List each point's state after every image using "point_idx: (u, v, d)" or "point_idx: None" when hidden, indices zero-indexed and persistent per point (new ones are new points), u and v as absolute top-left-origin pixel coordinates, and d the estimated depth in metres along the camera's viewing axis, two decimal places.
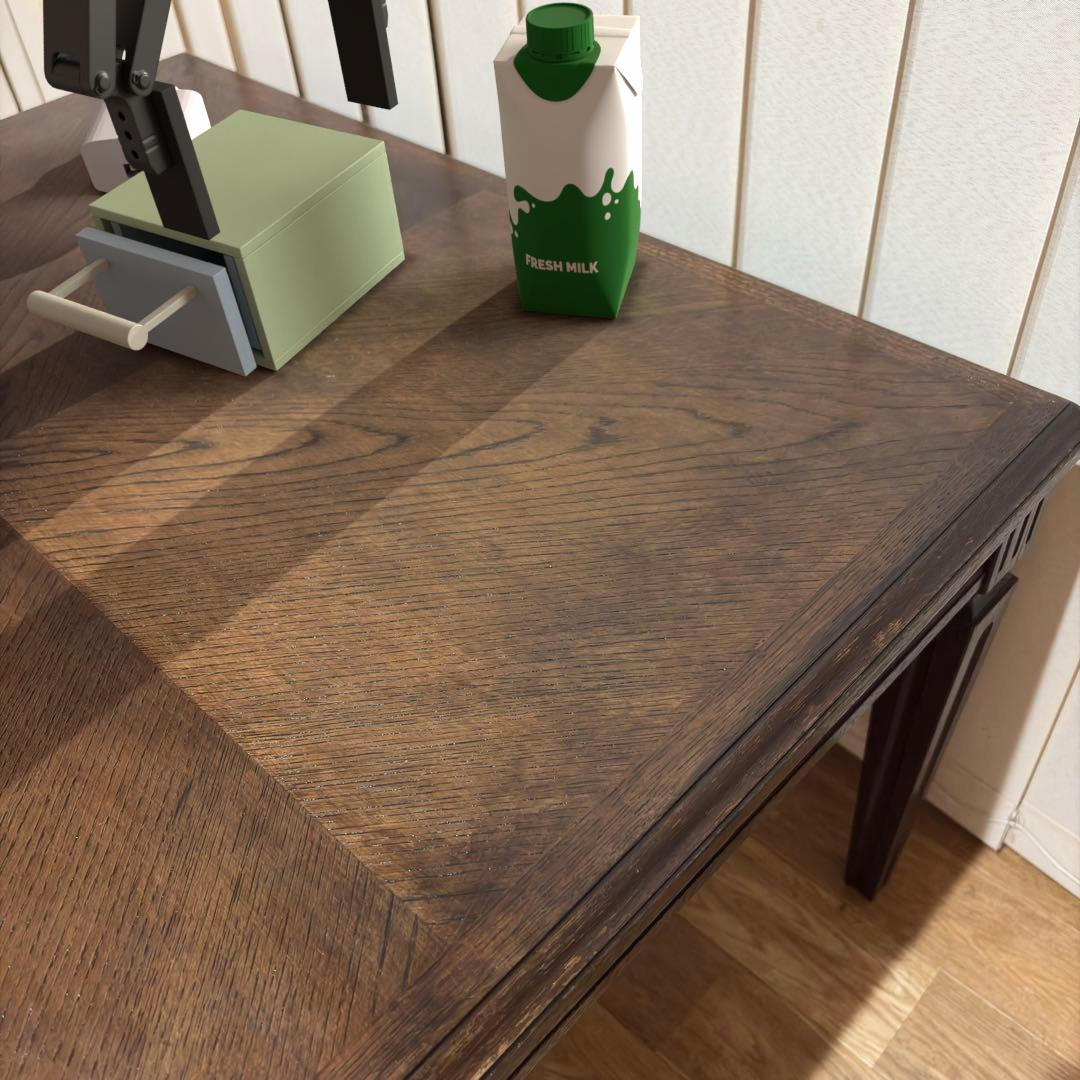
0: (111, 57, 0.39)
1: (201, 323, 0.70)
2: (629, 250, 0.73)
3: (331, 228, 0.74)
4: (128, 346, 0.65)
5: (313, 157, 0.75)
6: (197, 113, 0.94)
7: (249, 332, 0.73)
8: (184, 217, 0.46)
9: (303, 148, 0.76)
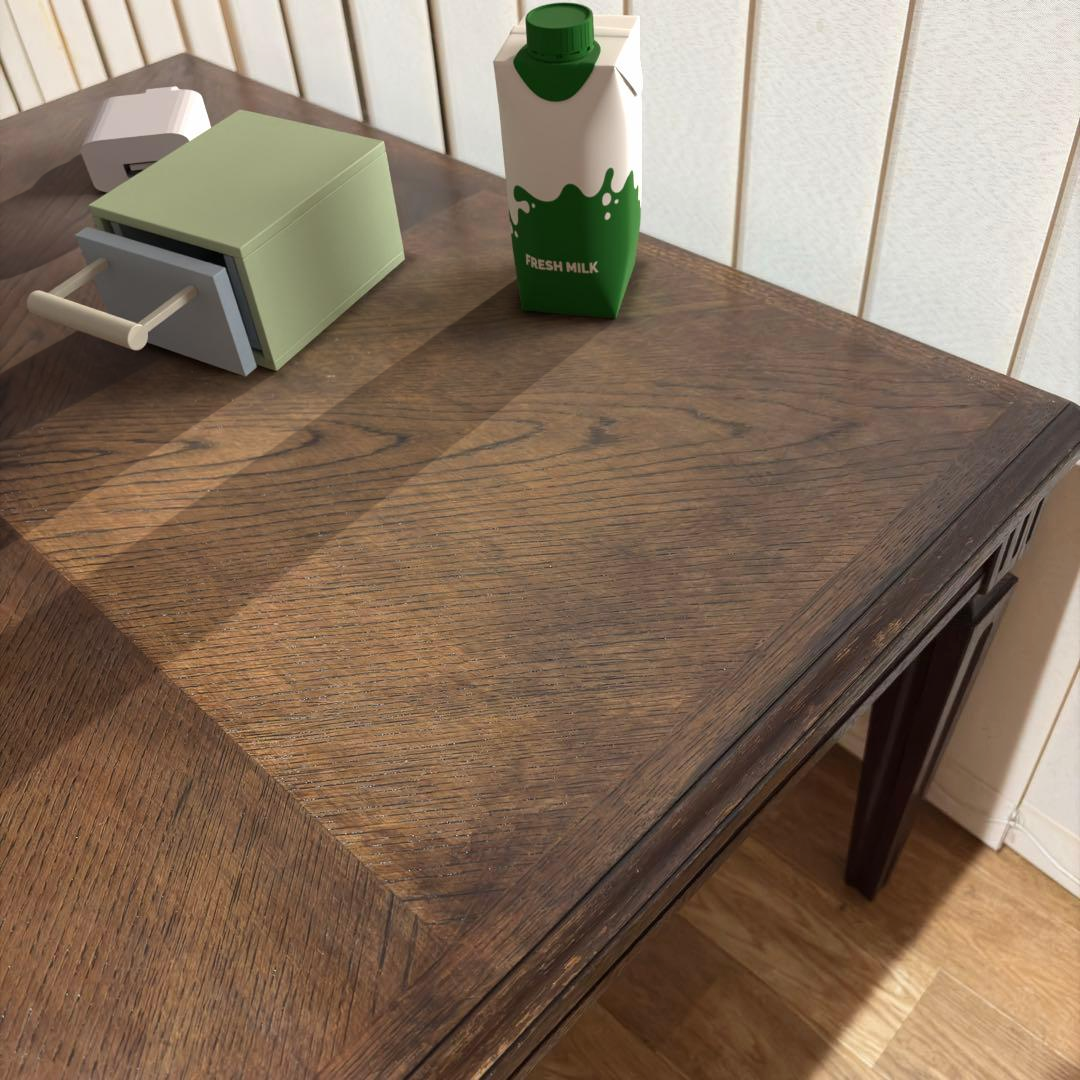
0: None
1: (201, 323, 0.70)
2: (629, 250, 0.73)
3: (331, 228, 0.74)
4: (128, 346, 0.65)
5: (313, 157, 0.75)
6: (197, 113, 0.94)
7: (249, 332, 0.73)
8: None
9: (303, 148, 0.76)
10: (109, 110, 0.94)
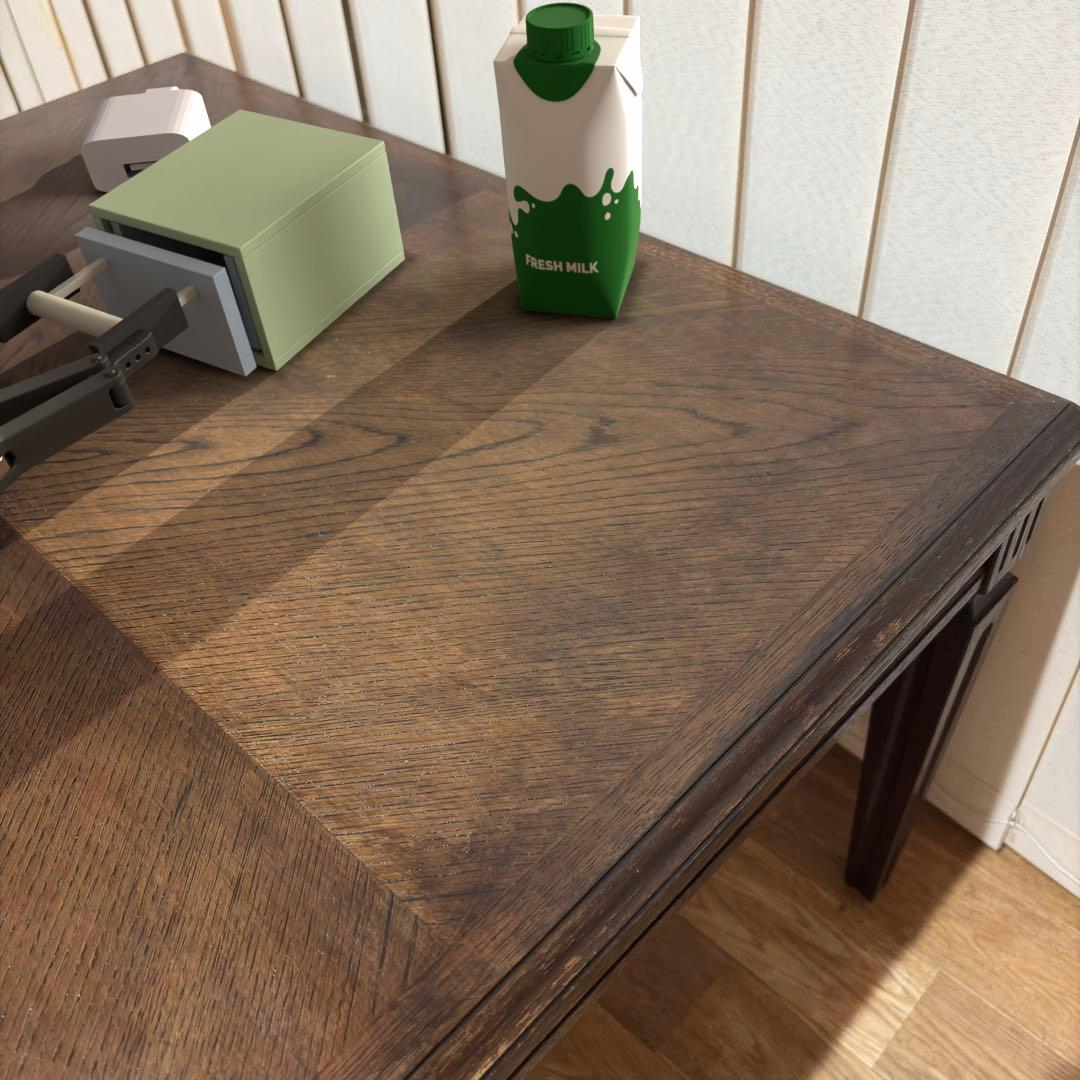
0: (92, 378, 0.60)
1: (201, 323, 0.70)
2: (629, 250, 0.73)
3: (331, 228, 0.74)
4: None
5: (313, 157, 0.75)
6: (197, 113, 0.94)
7: (249, 332, 0.73)
8: (171, 312, 0.66)
9: (303, 148, 0.76)
10: (109, 110, 0.94)
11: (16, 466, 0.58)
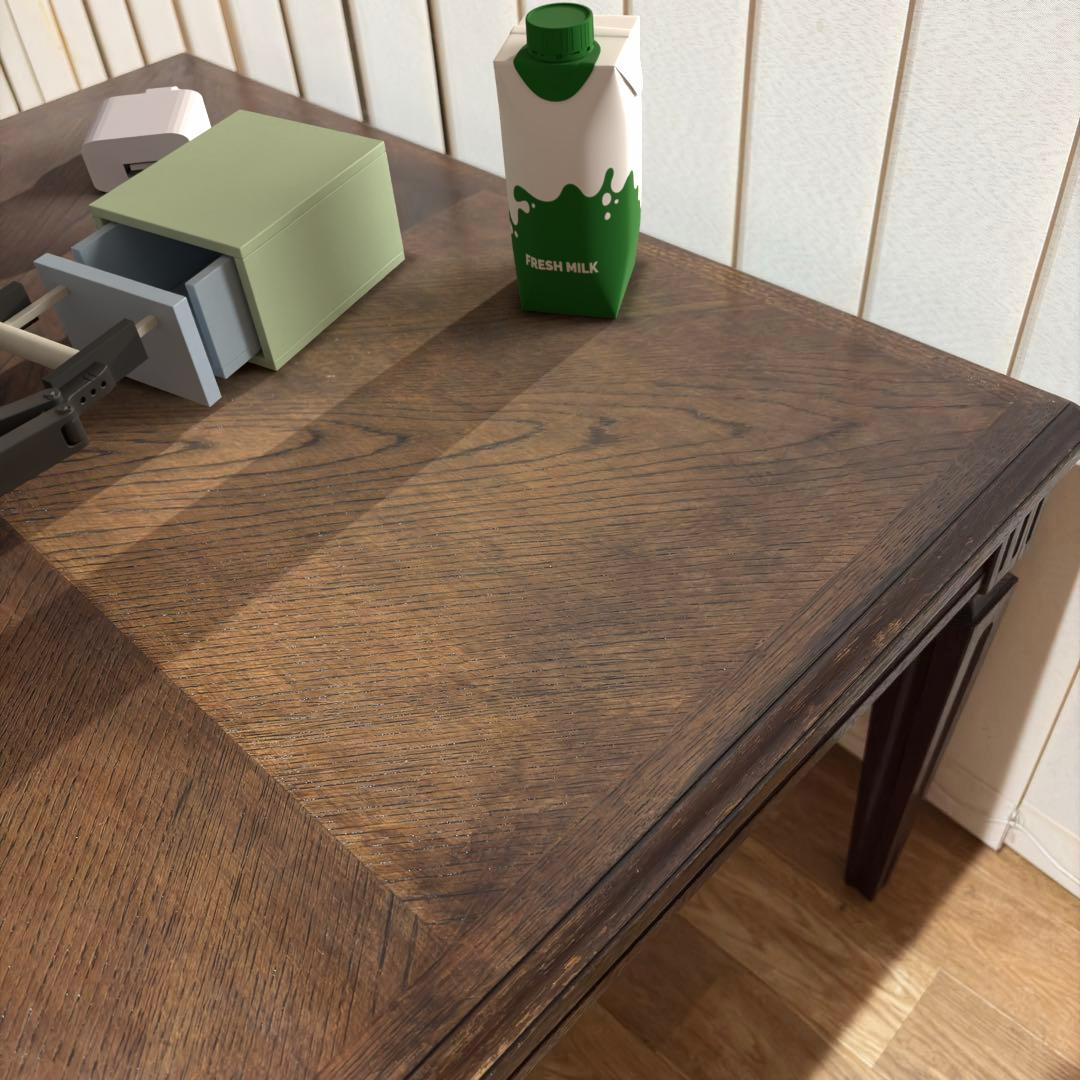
0: (43, 415, 0.58)
1: (163, 353, 0.68)
2: (629, 250, 0.73)
3: (331, 228, 0.74)
4: None
5: (313, 157, 0.75)
6: (197, 113, 0.94)
7: (214, 361, 0.71)
8: (129, 344, 0.64)
9: (303, 148, 0.76)
10: (109, 110, 0.94)
11: None
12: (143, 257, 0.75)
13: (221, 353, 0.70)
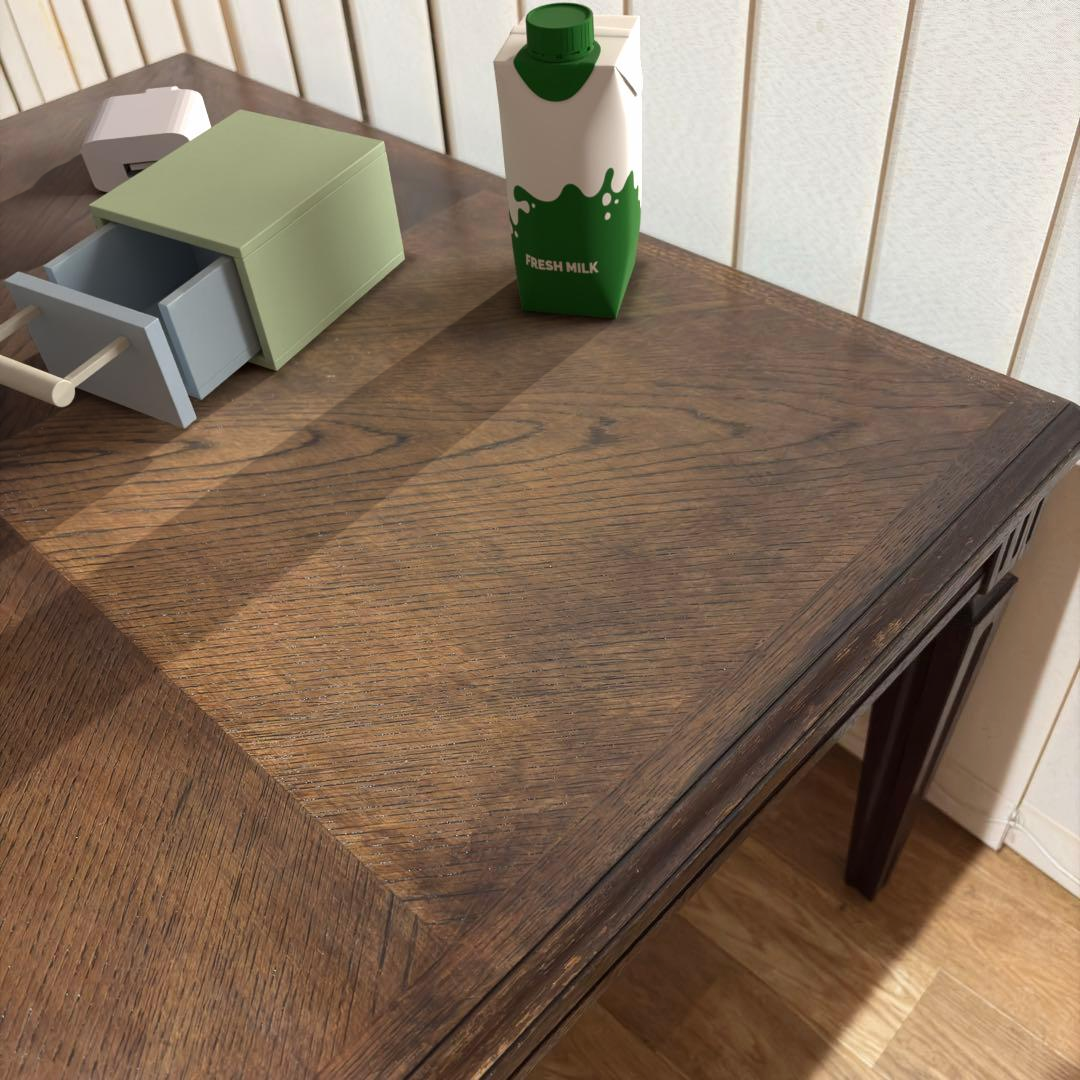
0: None
1: (136, 374, 0.67)
2: (629, 250, 0.73)
3: (331, 228, 0.74)
4: (53, 403, 0.61)
5: (313, 157, 0.75)
6: (197, 113, 0.94)
7: (189, 382, 0.69)
8: None
9: (303, 148, 0.76)
10: (109, 110, 0.94)
11: None
12: (118, 274, 0.74)
13: (196, 373, 0.69)
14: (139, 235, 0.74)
